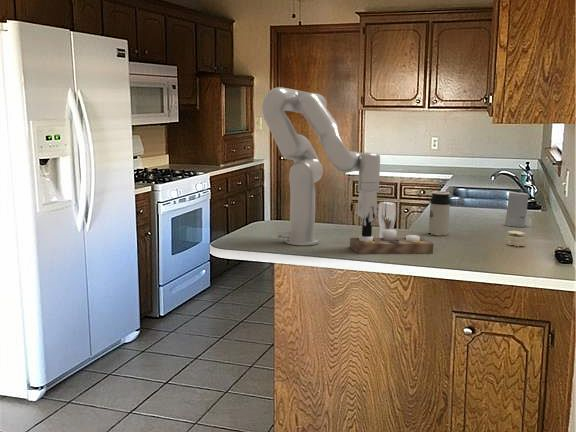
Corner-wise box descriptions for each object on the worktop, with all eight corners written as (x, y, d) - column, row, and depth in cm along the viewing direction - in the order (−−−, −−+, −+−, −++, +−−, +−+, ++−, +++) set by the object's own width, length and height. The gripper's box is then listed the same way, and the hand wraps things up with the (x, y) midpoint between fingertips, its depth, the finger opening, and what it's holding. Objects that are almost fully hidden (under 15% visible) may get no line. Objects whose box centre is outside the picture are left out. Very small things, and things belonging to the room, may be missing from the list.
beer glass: (381, 242, 249) (383, 204, 247) (374, 238, 256) (376, 201, 254) (397, 241, 251) (399, 204, 249) (390, 238, 258) (392, 201, 255)
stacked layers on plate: (533, 247, 248) (534, 233, 247) (517, 249, 244) (518, 235, 243) (513, 243, 257) (514, 229, 256) (497, 244, 252) (498, 231, 251)
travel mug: (446, 233, 273) (449, 191, 271) (448, 236, 266) (451, 193, 263) (427, 232, 275) (430, 190, 272) (429, 235, 267) (431, 192, 264)
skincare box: (505, 226, 297) (507, 192, 295) (507, 224, 304) (510, 191, 301) (524, 227, 293) (527, 193, 291) (526, 225, 300) (529, 192, 297)
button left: (360, 247, 232) (361, 237, 231) (357, 244, 237) (357, 234, 236) (374, 247, 233) (374, 237, 232) (370, 244, 238) (370, 234, 237)
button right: (408, 247, 235) (408, 237, 234) (403, 244, 239) (404, 234, 239) (421, 247, 235) (421, 237, 235) (416, 244, 240) (417, 234, 240)
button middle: (384, 241, 233) (385, 231, 232) (381, 239, 238) (381, 229, 237) (398, 241, 234) (398, 231, 233) (393, 239, 238) (394, 229, 238)
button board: (357, 253, 226) (358, 243, 226) (349, 246, 238) (350, 236, 237) (432, 253, 230) (433, 242, 230) (421, 246, 242) (421, 236, 242)
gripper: (353, 184, 238) (351, 232, 241) (364, 188, 223) (362, 240, 226) (372, 184, 239) (370, 232, 242) (384, 189, 225) (382, 240, 227)
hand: (366, 236), depth 234 cm, fingers closed
